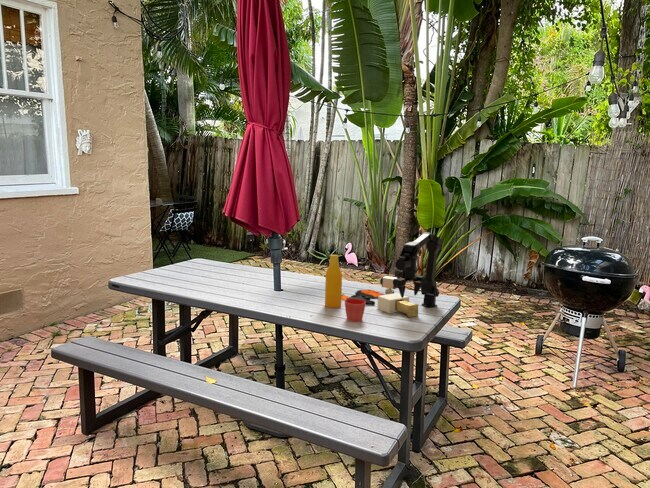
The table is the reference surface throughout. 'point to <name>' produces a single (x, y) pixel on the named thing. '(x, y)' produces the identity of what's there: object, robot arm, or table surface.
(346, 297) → the pair of gloves
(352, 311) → the flower pot
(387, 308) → the block
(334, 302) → the beer bottle
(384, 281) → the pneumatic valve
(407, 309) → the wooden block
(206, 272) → the table surface
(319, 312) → the table surface
